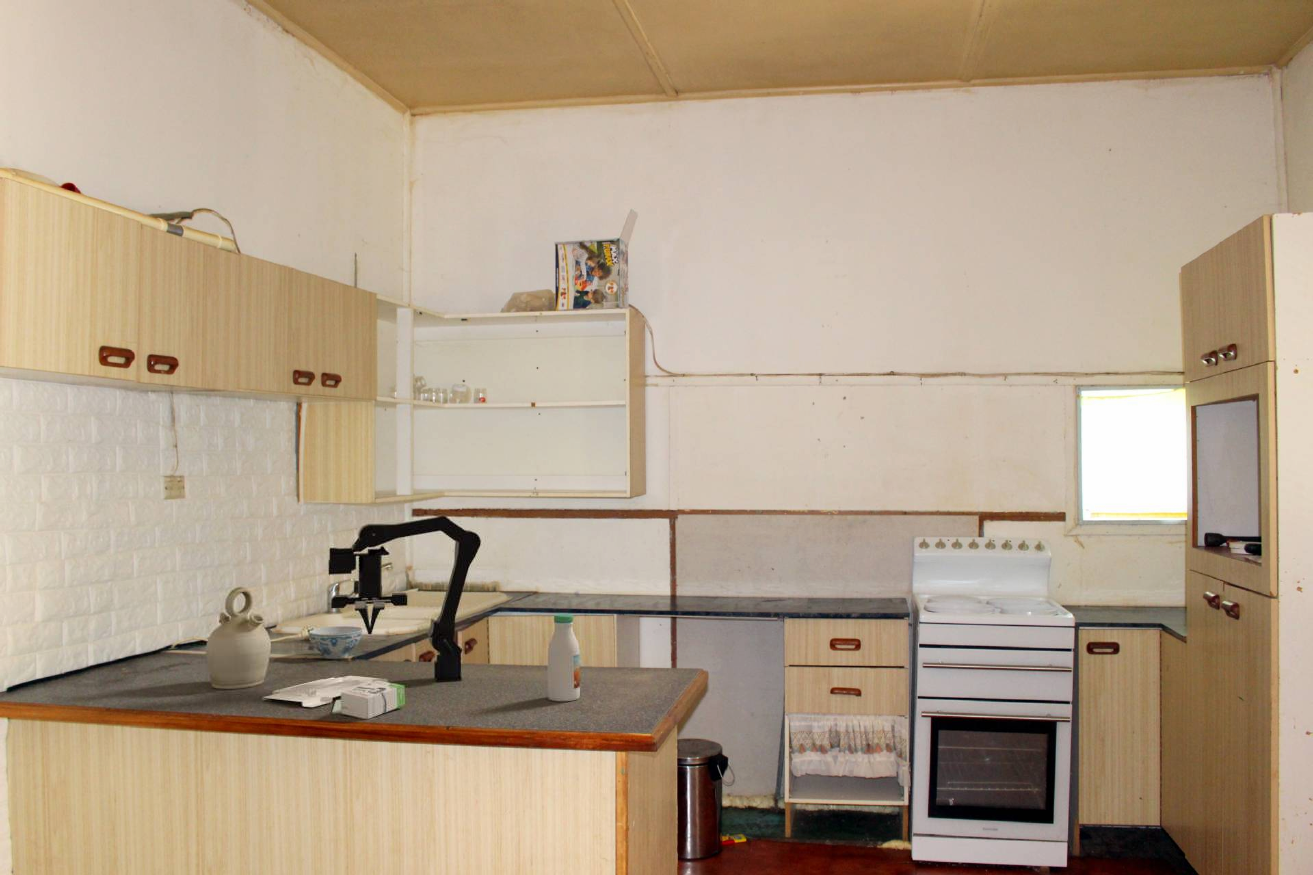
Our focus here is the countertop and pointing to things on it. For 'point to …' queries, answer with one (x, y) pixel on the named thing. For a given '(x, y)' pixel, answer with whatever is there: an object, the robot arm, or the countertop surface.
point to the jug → (238, 646)
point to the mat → (337, 707)
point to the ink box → (372, 699)
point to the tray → (321, 690)
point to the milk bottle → (563, 661)
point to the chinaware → (335, 640)
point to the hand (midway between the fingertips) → (369, 633)
